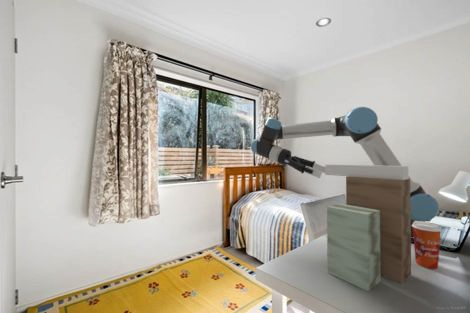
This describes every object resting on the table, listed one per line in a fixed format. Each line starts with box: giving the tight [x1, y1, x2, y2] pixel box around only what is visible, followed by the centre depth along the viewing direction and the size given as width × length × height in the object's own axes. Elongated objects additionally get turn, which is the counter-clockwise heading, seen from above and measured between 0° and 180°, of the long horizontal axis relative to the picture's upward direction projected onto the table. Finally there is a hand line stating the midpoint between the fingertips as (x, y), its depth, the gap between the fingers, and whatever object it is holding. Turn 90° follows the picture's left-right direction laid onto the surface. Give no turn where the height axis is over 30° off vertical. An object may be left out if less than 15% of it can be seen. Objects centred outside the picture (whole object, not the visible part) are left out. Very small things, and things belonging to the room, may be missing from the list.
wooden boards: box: [326, 176, 412, 292], centre depth 68 cm, size 20×16×30 cm
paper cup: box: [412, 221, 443, 270], centre depth 73 cm, size 8×8×14 cm
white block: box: [324, 164, 409, 180], centre depth 75 cm, size 4×25×4 cm, turn 35°
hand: (324, 173), depth 93 cm, fingers open, 13 cm apart
